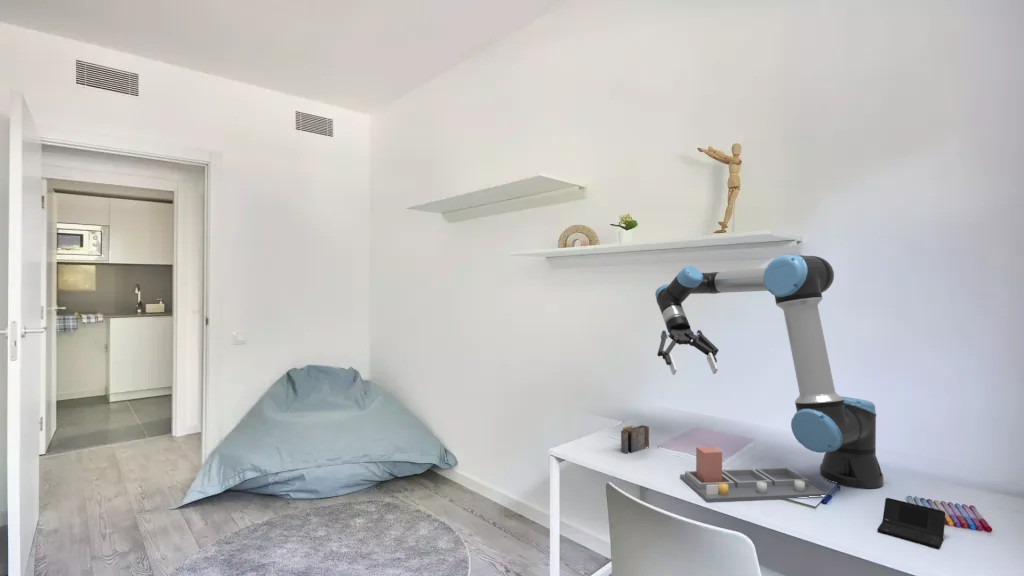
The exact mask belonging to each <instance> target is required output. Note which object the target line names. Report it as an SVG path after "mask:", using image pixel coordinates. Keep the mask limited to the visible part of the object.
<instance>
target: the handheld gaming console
mask: <svg viewBox="0 0 1024 576" xmlns="http://www.w3.org/2000/svg"><path fill="white" fill-rule="evenodd" d="M883 507H884V508H883V514H882V515H883V516H882V522H881V523H880V525H879V526H878V527H877V533H879V534H882V535H886V536H890V537H891V538H892V537H894V538H896V539H899V538H900V540H904V541H907V542H910V543H914V544H918V545H921V546H925V547H929V548H933V549H935V550H940V548H941V547H942V544H943V542H944V537H945V536H944V535H945V525H946V523H945V522H946V511H944V510H942V509H936V508H933V507H928V506H925V505H922V504H921V505H919V504H916V503H911V502H908V501H903V500H899V499H895V498H890V497H886V498H885V500H884V505H883Z"/></svg>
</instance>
